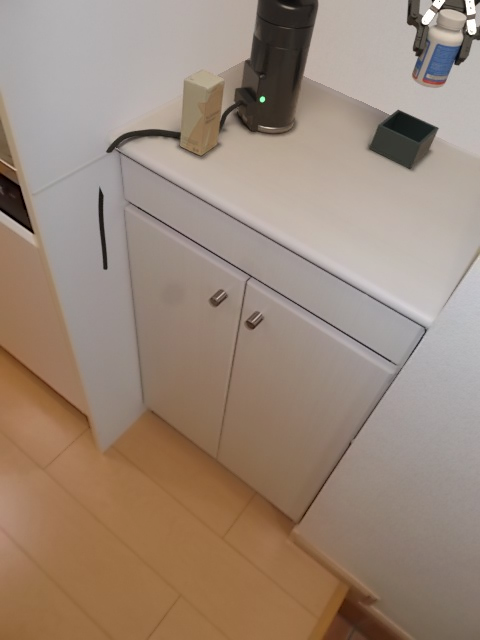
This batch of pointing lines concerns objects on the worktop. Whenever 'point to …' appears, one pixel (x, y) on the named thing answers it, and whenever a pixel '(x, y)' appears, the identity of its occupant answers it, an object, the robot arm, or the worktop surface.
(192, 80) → the box
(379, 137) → the bin
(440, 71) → the pill bottle
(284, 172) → the worktop surface
